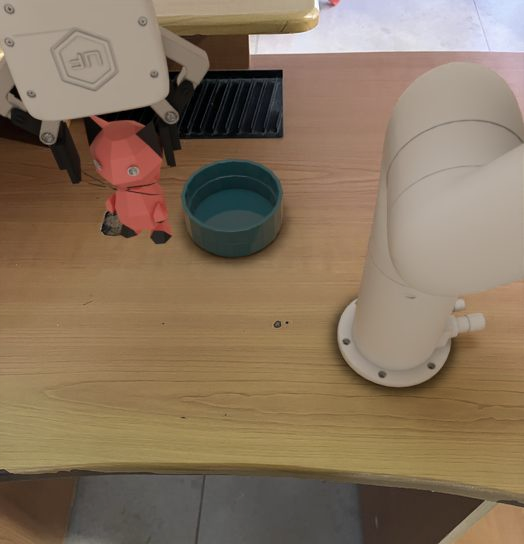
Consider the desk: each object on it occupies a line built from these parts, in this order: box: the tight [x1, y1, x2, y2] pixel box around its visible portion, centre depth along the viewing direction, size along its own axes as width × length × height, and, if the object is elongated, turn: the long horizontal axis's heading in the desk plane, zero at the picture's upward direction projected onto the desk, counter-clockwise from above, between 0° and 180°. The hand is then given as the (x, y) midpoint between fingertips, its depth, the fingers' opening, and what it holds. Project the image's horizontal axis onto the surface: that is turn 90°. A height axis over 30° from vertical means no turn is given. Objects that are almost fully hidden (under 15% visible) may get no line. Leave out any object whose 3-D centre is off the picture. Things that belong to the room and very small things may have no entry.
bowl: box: [180, 158, 284, 258], centre depth 73 cm, size 13×13×5 cm
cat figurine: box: [80, 115, 173, 245], centre depth 48 cm, size 7×7×12 cm
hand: (123, 162), depth 47 cm, fingers closed on cat figurine, 7 cm apart
